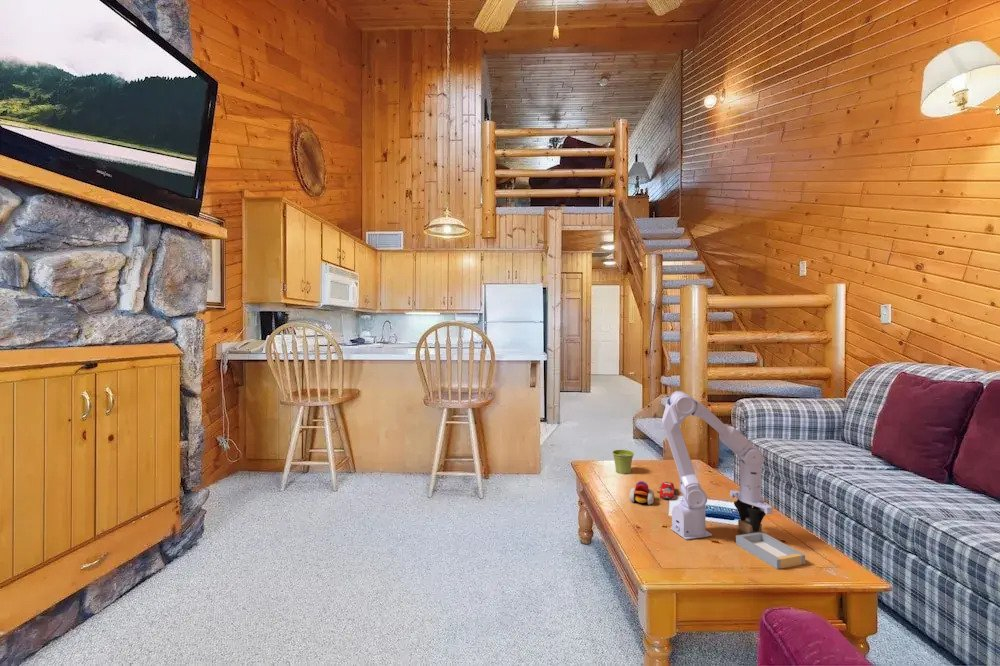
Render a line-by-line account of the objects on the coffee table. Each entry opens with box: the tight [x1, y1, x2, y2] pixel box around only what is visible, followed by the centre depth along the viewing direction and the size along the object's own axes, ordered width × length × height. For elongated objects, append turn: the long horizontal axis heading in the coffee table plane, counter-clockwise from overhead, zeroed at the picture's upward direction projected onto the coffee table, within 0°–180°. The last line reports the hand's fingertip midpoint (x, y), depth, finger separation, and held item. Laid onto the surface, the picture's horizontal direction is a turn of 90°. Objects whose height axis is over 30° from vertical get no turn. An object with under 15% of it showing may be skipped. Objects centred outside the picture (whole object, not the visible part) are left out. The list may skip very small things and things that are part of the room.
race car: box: [659, 481, 676, 501], centre depth 174 cm, size 13×5×4 cm, turn 157°
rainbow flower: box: [628, 480, 655, 506], centre depth 167 cm, size 8×10×7 cm
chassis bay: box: [735, 531, 806, 570], centre depth 128 cm, size 9×14×2 cm, turn 15°
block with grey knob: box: [737, 517, 763, 535], centre depth 139 cm, size 4×4×6 cm
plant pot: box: [611, 449, 635, 475], centre depth 200 cm, size 9×9×9 cm
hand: (750, 528), depth 139 cm, fingers closed on block with grey knob, 3 cm apart
